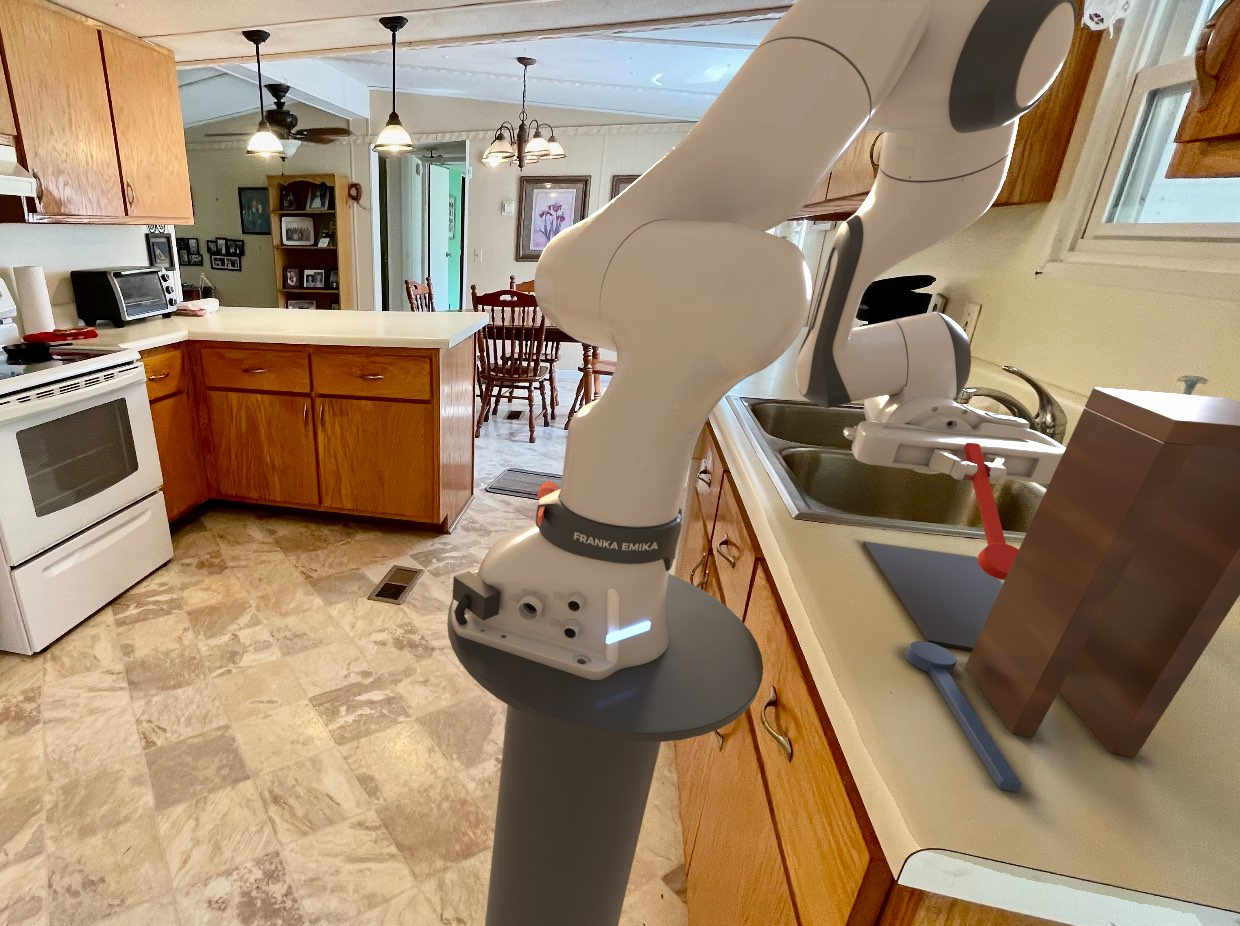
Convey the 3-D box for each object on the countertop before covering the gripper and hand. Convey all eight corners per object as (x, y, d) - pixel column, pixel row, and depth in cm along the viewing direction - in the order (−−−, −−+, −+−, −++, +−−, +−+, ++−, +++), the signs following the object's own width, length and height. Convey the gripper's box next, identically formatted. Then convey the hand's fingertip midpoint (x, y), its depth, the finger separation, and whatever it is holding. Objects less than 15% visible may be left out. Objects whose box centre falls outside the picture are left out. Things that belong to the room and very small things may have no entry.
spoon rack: (1011, 733, 53) (1176, 420, 42) (964, 666, 60) (1093, 387, 49) (1135, 758, 50) (1343, 434, 39) (1070, 685, 58) (1228, 398, 47)
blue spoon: (1038, 797, 47) (1045, 785, 46) (978, 784, 48) (985, 772, 47) (943, 655, 62) (948, 645, 61) (899, 647, 63) (903, 637, 62)
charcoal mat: (927, 643, 64) (928, 640, 63) (862, 544, 83) (863, 541, 82) (1078, 669, 60) (1080, 666, 60) (974, 559, 79) (976, 556, 79)
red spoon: (950, 445, 73) (956, 437, 72) (988, 449, 72) (994, 441, 72) (981, 577, 64) (988, 570, 63) (1025, 583, 63) (1033, 577, 62)
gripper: (846, 403, 83) (880, 435, 71) (1041, 420, 78) (1113, 458, 66) (832, 450, 86) (862, 489, 74) (1019, 470, 80) (1084, 515, 68)
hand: (982, 475), depth 70 cm, fingers closed on red spoon, 1 cm apart
